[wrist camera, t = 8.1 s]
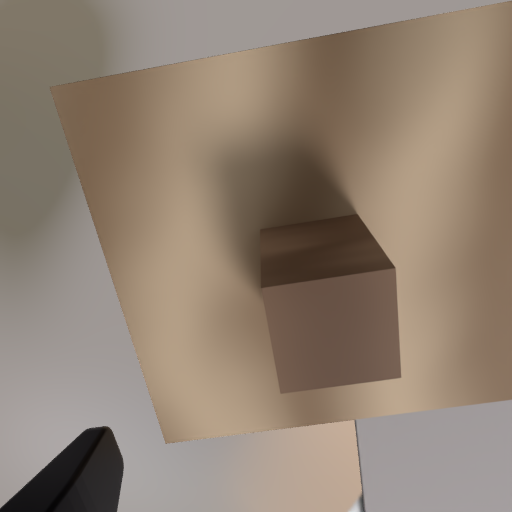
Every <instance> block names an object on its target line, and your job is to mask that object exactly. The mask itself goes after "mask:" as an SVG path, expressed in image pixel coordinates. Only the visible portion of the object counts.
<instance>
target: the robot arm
mask: <svg viewBox="0 0 512 512" xmlns="http://www.w3.org/2000/svg"><path fill="white" fill-rule="evenodd" d="M123 469H124V465H123V458H122V455H121V453H120V450H119V448H118V445H117V442H116V440H115V437H114V434H113V432H112V430H111V429H110V428H109V427H106V426H103V427H96V428H89V429H86V430H85V431H84V432H82V433H81V434H80V435H79V436H78V437H77V438H76V439H75V440H74V441H73V442H72V443H71V444H69V445H68V446H67V447H66V448H65V449H64V450H63V451H62V452H61V453H60V454H59V455H58V456H57V457H55V458H54V459H53V460H52V461H51V462H50V463H49V464H48V465H47V466H46V467H45V468H44V469H42V470H41V471H40V472H39V473H38V474H37V475H36V476H35V477H34V478H33V479H32V480H31V481H29V482H28V483H27V484H26V485H25V486H24V487H23V488H22V489H21V490H20V491H19V492H18V493H16V494H15V495H14V496H13V497H12V498H11V499H10V500H9V501H8V502H7V503H6V504H5V505H3V506H2V507H1V508H0V512H117V508H118V502H119V495H120V489H121V482H122V477H123Z"/></svg>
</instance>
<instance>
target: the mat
mask: <svg viewBox="0 0 512 512" xmlns="http://www.w3.org/2000/svg"><path fill="white" fill-rule="evenodd" d="M355 427H356V436H357V446H358V456H359V465H360V474H361V484H362V493H363V503H364V512H512V400H506V401H498V402H490V403H482V404H474V405H467V406H459V407H451V408H443V409H435V410H427V411H419V412H411V413H403V414H396V415H388V416H380V417H372V418H364V419H356V420H355Z"/></svg>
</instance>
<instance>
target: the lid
mask: <svg viewBox="0 0 512 512" xmlns="http://www.w3.org/2000/svg"><path fill="white" fill-rule="evenodd" d="M50 90H51V93H52V96H53V99H54V102H55V105H56V109H57V112H58V115H59V118H60V121H61V124H62V127H63V130H64V133H65V136H66V139H67V142H68V145H69V148H70V151H71V155H72V158H73V160H74V164H75V167H76V170H77V173H78V176H79V179H80V182H81V185H82V188H83V191H84V194H85V197H86V201H87V204H88V207H89V210H90V213H91V216H92V219H93V222H94V225H95V228H96V231H97V234H98V237H99V240H100V243H101V247H102V250H103V253H104V256H105V258H106V262H107V265H108V268H109V271H110V274H111V277H112V280H113V283H114V286H115V289H116V292H117V295H118V299H119V301H120V305H121V308H122V311H123V314H124V317H125V320H126V323H127V326H128V329H129V332H130V335H131V338H132V342H133V345H134V347H135V351H136V354H137V357H138V360H139V363H140V366H141V369H142V372H143V375H144V378H145V381H146V385H147V388H148V391H149V394H150V397H151V400H152V403H153V406H154V409H155V412H156V415H157V418H158V421H159V424H160V427H161V430H162V434H163V437H164V440H165V443H166V444H167V443H175V442H183V441H190V440H198V439H206V438H214V437H222V436H230V435H237V434H246V433H254V432H262V431H269V430H277V429H285V428H293V427H300V426H309V425H316V424H325V423H332V422H340V421H348V420H356V419H364V418H372V417H380V416H388V415H396V414H403V413H411V412H419V411H427V410H435V409H443V408H451V407H459V406H467V405H474V404H482V403H490V402H498V401H506V400H512V1H508V2H503V3H497V4H492V5H487V6H481V7H476V8H471V9H465V10H460V11H455V12H449V13H443V14H438V15H433V16H427V17H423V18H417V19H411V20H406V21H401V22H395V23H390V24H384V25H380V26H374V27H368V28H363V29H358V30H353V31H348V32H342V33H336V34H331V35H325V36H320V37H315V38H309V39H304V40H299V41H294V42H288V43H283V44H278V45H272V46H266V47H261V48H256V49H251V50H245V51H240V52H235V53H229V54H224V55H218V56H214V57H208V58H202V59H197V60H192V61H186V62H181V63H176V64H170V65H165V66H159V67H154V68H148V69H143V70H138V71H132V72H127V73H122V74H117V75H111V76H106V77H100V78H95V79H90V80H85V81H79V82H74V83H68V84H63V85H57V86H52V87H50Z"/></svg>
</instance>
